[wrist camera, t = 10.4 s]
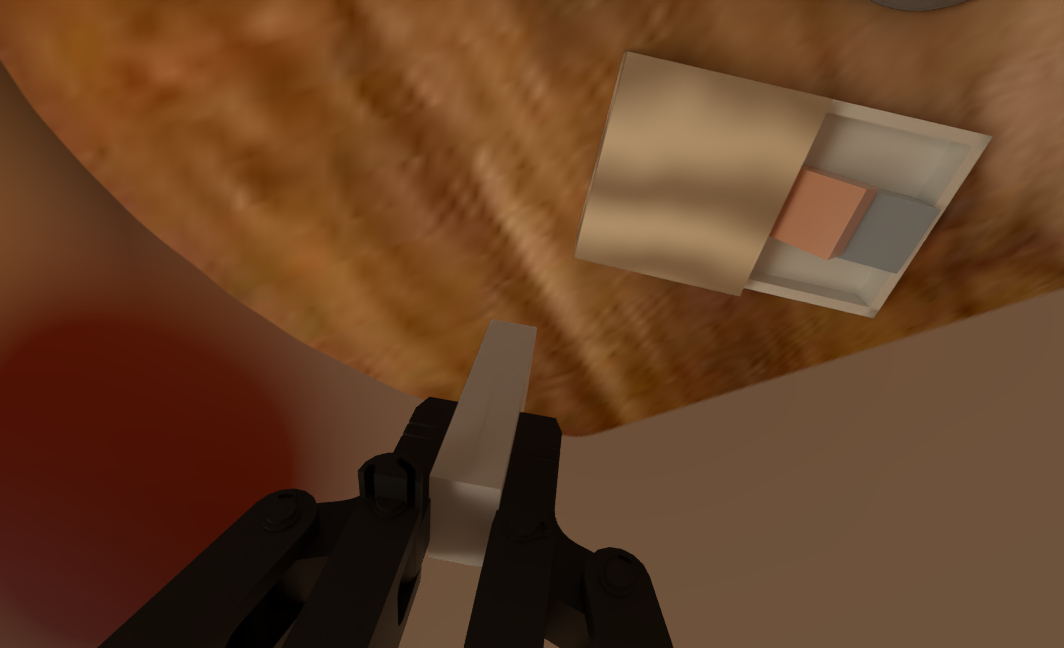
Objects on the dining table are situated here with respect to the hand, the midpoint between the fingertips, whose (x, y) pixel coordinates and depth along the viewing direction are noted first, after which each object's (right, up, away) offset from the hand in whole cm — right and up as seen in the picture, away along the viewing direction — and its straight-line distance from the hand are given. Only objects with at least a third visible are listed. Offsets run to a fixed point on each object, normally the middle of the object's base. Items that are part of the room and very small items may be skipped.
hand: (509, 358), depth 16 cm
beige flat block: (+12, +13, +22) cm, 28 cm away
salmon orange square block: (+22, +10, +19) cm, 31 cm away
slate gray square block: (+26, +8, +18) cm, 33 cm away
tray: (+24, +10, +22) cm, 34 cm away
